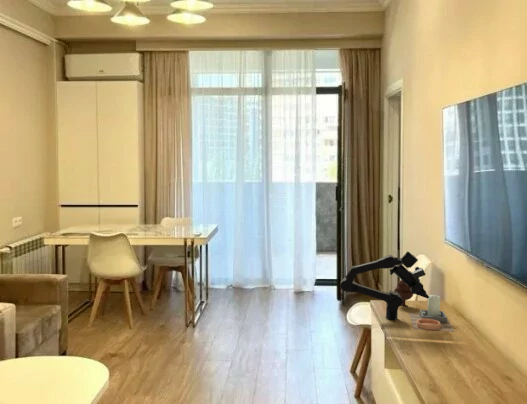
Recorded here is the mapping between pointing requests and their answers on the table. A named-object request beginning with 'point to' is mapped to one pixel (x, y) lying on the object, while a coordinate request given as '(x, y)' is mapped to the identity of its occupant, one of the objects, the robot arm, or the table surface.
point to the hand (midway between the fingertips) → (427, 295)
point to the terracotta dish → (428, 324)
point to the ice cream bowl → (403, 292)
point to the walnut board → (443, 327)
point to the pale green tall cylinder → (433, 305)
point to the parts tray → (441, 317)
